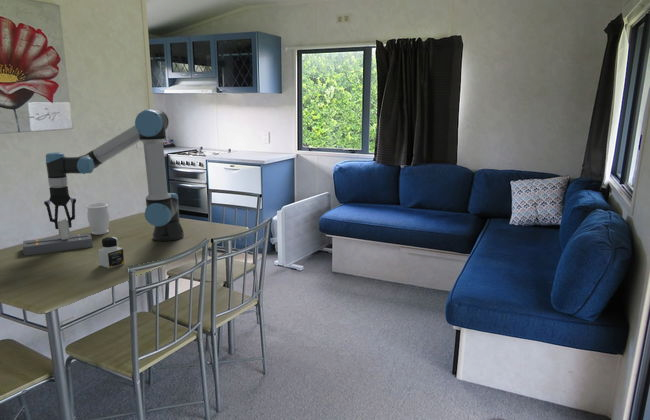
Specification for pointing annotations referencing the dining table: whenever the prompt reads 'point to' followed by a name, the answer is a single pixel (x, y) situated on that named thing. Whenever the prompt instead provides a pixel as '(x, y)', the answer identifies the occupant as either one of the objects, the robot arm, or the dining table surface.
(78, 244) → the slider console
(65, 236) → the fader tab
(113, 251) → the medicine bottle
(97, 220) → the jar
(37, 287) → the dining table surface
